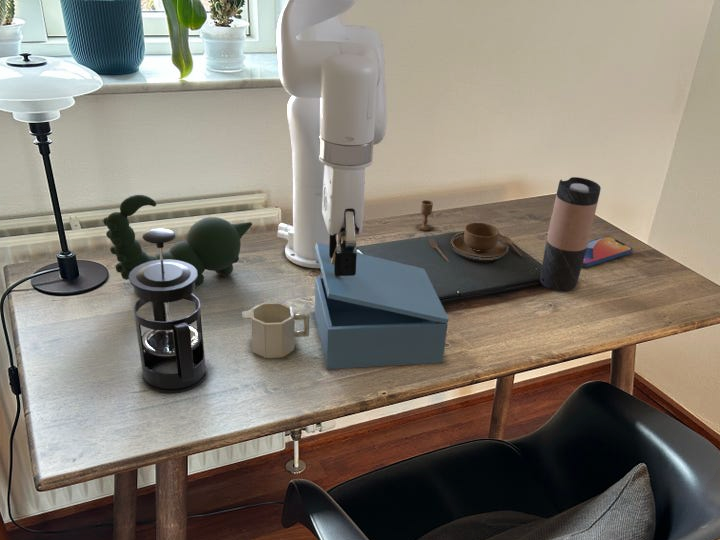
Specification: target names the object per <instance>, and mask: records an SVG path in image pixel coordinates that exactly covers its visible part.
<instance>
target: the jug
mask: <svg viewBox="0 0 720 540" xmlns="http://www.w3.org/2000/svg"><path fill="white" fill-rule="evenodd" d="M242 320H243V321H245V320H246V321H247V320H248V321H249V320H250V333H251V335H250V337H251V338H250V339H251V350H252V353H253V354H256V355H258V356H260V357H262V358H264V359H265V358H266V359H275V358H277V359H279V358H284V357H286V356H288V355H289V354H290V353H292V352H293V351H295V338H301V337H302V338H304V337H309V336H310V315H309V314H308V313H295V312H294V308H293V307H291V306H289V305H288V304H285V303H282V302H279V301H273V302H271V301H270V302H261V303H259V304H257V305H256V306H254V307H252V308H251V309H250V310H242ZM295 321H303V324H302V325H303V326H302V327H303V330H295Z"/></svg>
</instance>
